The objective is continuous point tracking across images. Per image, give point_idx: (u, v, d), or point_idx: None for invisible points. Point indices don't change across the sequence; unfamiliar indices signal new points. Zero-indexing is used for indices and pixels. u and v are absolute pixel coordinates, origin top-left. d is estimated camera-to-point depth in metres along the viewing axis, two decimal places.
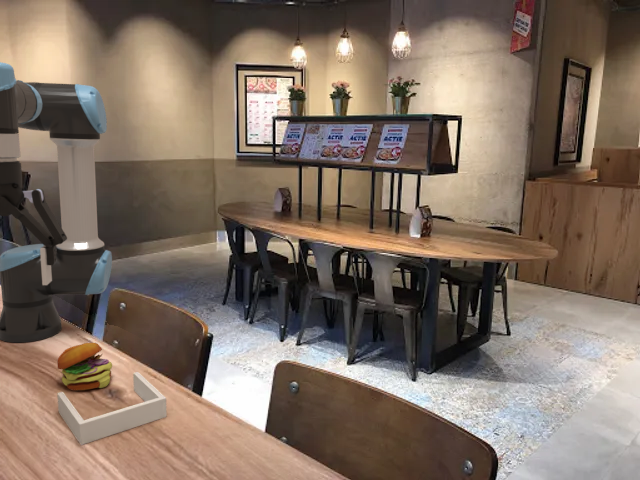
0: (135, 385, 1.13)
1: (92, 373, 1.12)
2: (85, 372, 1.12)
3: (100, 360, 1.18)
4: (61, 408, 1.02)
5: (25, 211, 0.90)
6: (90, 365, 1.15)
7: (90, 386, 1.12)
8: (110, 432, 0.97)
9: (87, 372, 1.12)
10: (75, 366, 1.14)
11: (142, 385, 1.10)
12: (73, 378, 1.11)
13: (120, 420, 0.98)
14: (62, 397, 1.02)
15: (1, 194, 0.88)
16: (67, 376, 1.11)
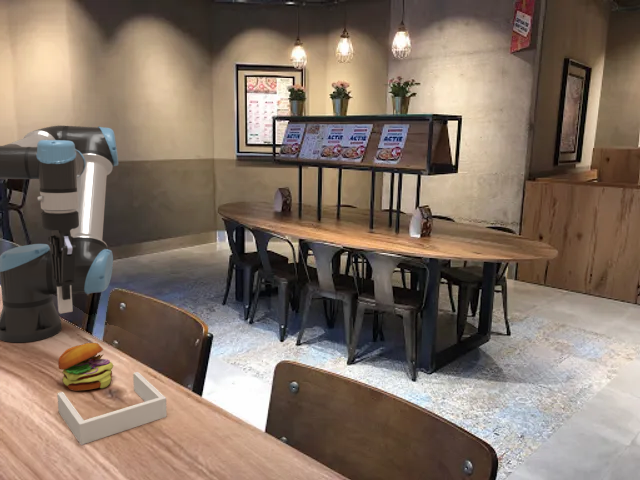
0: (135, 385, 1.13)
1: (93, 373, 1.12)
2: (86, 372, 1.12)
3: (101, 360, 1.18)
4: (61, 408, 1.02)
5: None
6: (91, 365, 1.15)
7: (91, 386, 1.12)
8: (110, 432, 0.97)
9: (88, 372, 1.12)
10: (76, 366, 1.14)
11: (142, 385, 1.10)
12: (74, 378, 1.11)
13: (120, 420, 0.98)
14: (62, 397, 1.02)
15: (57, 231, 1.17)
16: (68, 376, 1.11)
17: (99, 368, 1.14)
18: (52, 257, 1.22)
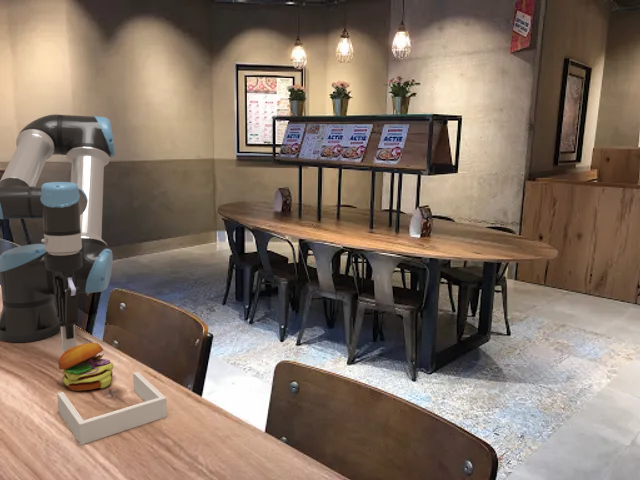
0: (135, 385, 1.13)
1: (93, 373, 1.12)
2: (86, 372, 1.12)
3: (101, 360, 1.18)
4: (61, 408, 1.02)
5: None
6: (91, 365, 1.15)
7: (91, 386, 1.12)
8: (110, 432, 0.97)
9: (88, 372, 1.12)
10: (76, 366, 1.14)
11: (142, 385, 1.10)
12: (74, 378, 1.11)
13: (120, 420, 0.98)
14: (62, 397, 1.02)
15: (61, 272, 1.18)
16: (68, 376, 1.11)
17: (99, 368, 1.14)
18: (56, 296, 1.23)
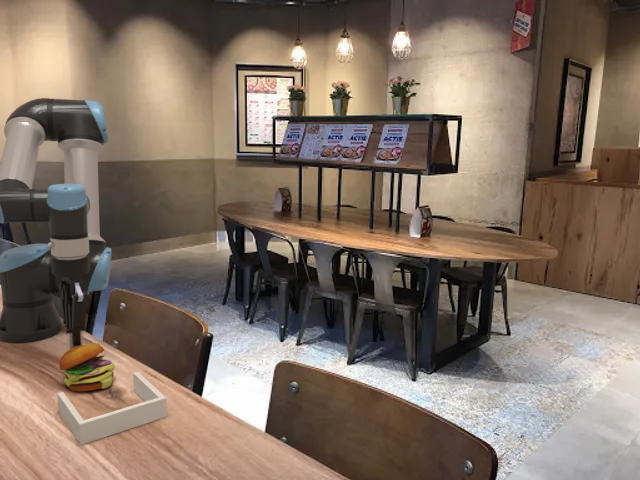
0: (135, 385, 1.13)
1: (94, 374, 1.12)
2: (87, 373, 1.12)
3: (102, 361, 1.17)
4: (61, 408, 1.02)
5: None
6: (92, 366, 1.14)
7: (92, 387, 1.12)
8: (110, 432, 0.97)
9: (89, 372, 1.12)
10: (77, 367, 1.13)
11: (142, 385, 1.10)
12: (75, 379, 1.11)
13: (120, 420, 0.98)
14: (62, 397, 1.02)
15: (67, 277, 1.14)
16: (69, 377, 1.11)
17: (100, 369, 1.14)
18: (62, 302, 1.19)
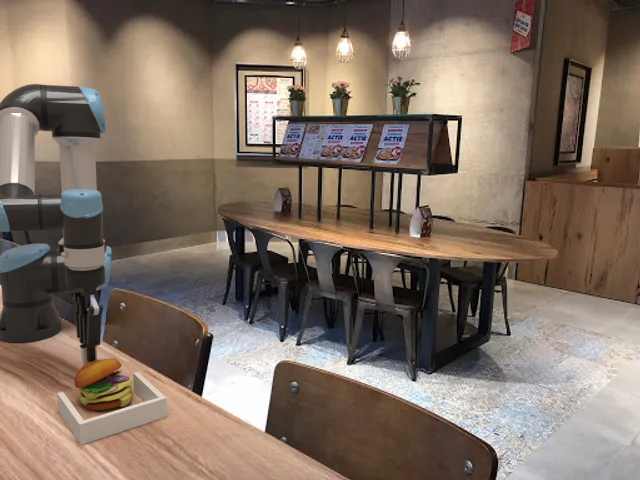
0: (135, 385, 1.13)
1: (113, 391, 1.05)
2: (106, 390, 1.05)
3: (119, 376, 1.10)
4: (61, 408, 1.02)
5: None
6: (110, 382, 1.07)
7: (111, 405, 1.05)
8: (110, 432, 0.97)
9: (107, 390, 1.05)
10: (94, 384, 1.06)
11: (142, 385, 1.10)
12: (93, 397, 1.04)
13: (120, 420, 0.98)
14: (62, 397, 1.02)
15: (82, 289, 1.07)
16: (86, 395, 1.04)
17: (119, 385, 1.07)
18: (76, 314, 1.12)
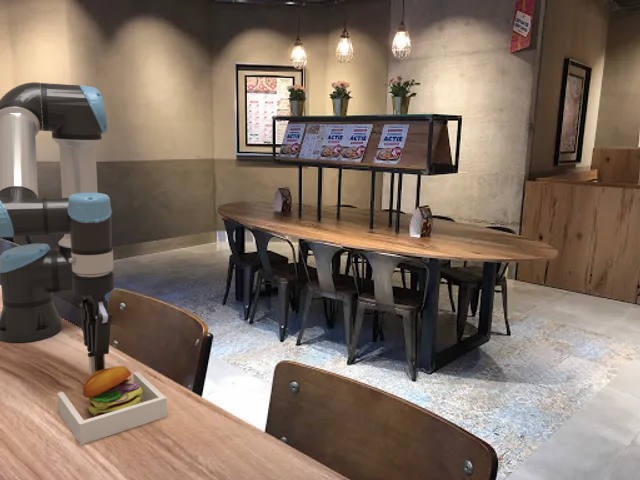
0: None
1: (124, 401, 1.02)
2: (116, 400, 1.01)
3: (129, 385, 1.07)
4: (61, 408, 1.02)
5: None
6: (120, 391, 1.04)
7: None
8: (110, 432, 0.97)
9: (118, 399, 1.02)
10: (103, 393, 1.03)
11: (142, 385, 1.10)
12: (103, 407, 1.00)
13: (120, 420, 0.98)
14: (62, 397, 1.02)
15: (90, 296, 1.04)
16: (96, 405, 1.00)
17: (129, 394, 1.04)
18: (83, 322, 1.09)
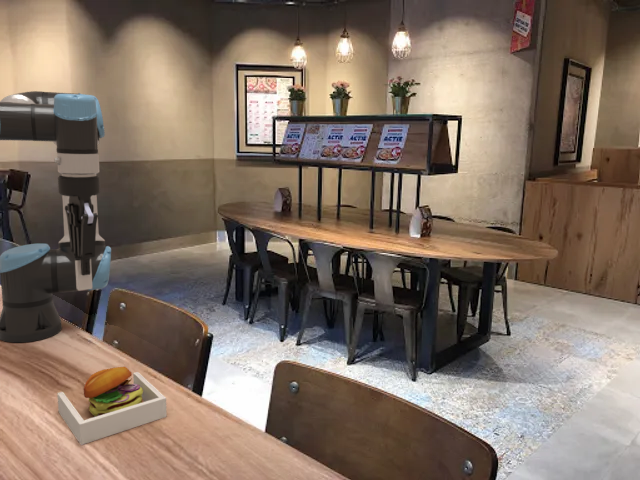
0: None
1: (125, 401, 1.02)
2: (117, 400, 1.01)
3: (130, 385, 1.07)
4: (61, 408, 1.02)
5: None
6: (120, 392, 1.04)
7: None
8: (110, 432, 0.97)
9: (119, 400, 1.02)
10: (104, 394, 1.03)
11: (142, 385, 1.10)
12: (104, 408, 1.00)
13: (120, 420, 0.98)
14: (62, 397, 1.02)
15: (76, 197, 1.04)
16: (97, 406, 1.00)
17: (130, 395, 1.04)
18: (69, 228, 1.09)
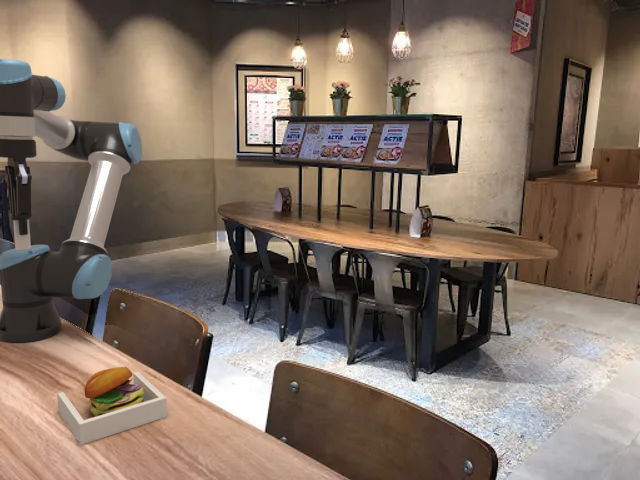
0: None
1: (125, 401, 1.02)
2: (117, 400, 1.01)
3: (131, 386, 1.07)
4: (61, 408, 1.02)
5: None
6: (121, 392, 1.04)
7: None
8: (110, 432, 0.97)
9: (119, 400, 1.02)
10: (105, 394, 1.03)
11: (142, 385, 1.10)
12: (105, 408, 1.00)
13: (120, 420, 0.98)
14: (62, 397, 1.02)
15: (12, 159, 1.09)
16: (98, 406, 1.00)
17: (131, 395, 1.04)
18: (8, 190, 1.14)
